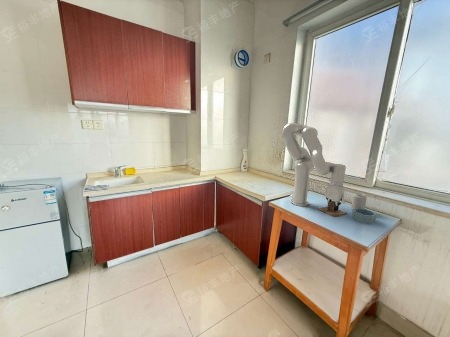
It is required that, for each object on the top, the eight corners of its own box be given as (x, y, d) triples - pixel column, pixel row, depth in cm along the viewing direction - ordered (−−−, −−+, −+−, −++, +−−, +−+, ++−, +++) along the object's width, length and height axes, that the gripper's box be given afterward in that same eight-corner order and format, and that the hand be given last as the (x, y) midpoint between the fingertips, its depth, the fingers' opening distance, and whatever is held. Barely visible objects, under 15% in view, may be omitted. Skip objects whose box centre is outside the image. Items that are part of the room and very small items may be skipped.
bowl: (348, 217, 119) (349, 209, 118) (359, 214, 124) (360, 207, 123) (367, 225, 110) (368, 217, 109) (378, 221, 114) (379, 214, 113)
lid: (318, 209, 130) (319, 200, 128) (330, 206, 135) (331, 197, 133) (334, 217, 119) (336, 207, 118) (346, 213, 124) (348, 204, 123)
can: (348, 209, 131) (351, 192, 129) (354, 207, 135) (357, 191, 132) (360, 213, 125) (363, 196, 122) (366, 211, 128) (369, 194, 126)
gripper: (321, 180, 128) (317, 205, 132) (345, 187, 114) (340, 215, 118) (328, 179, 131) (325, 203, 135) (353, 186, 117) (348, 213, 121)
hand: (332, 208), depth 126 cm, fingers closed on lid, 4 cm apart
